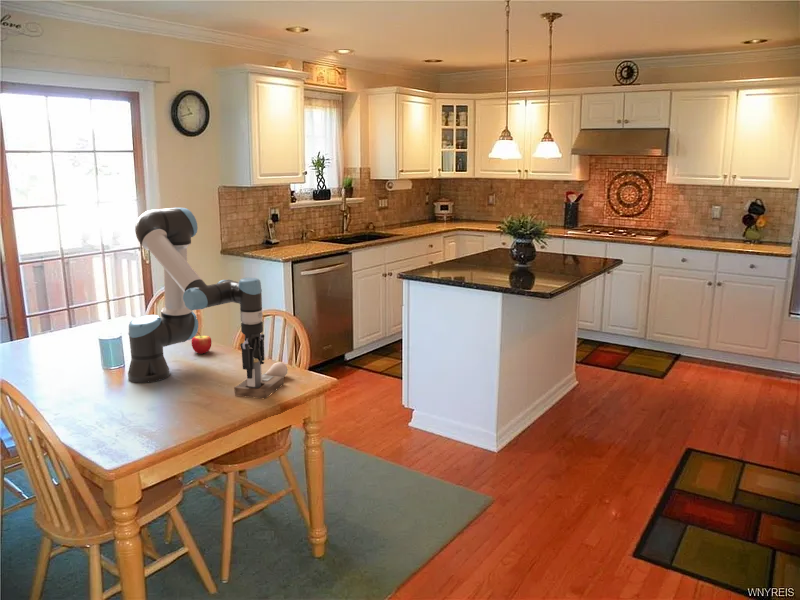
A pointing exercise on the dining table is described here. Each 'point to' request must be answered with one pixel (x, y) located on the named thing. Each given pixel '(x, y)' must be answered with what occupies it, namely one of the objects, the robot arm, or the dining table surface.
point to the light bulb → (277, 370)
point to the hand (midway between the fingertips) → (254, 383)
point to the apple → (201, 344)
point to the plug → (257, 373)
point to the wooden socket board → (265, 390)
